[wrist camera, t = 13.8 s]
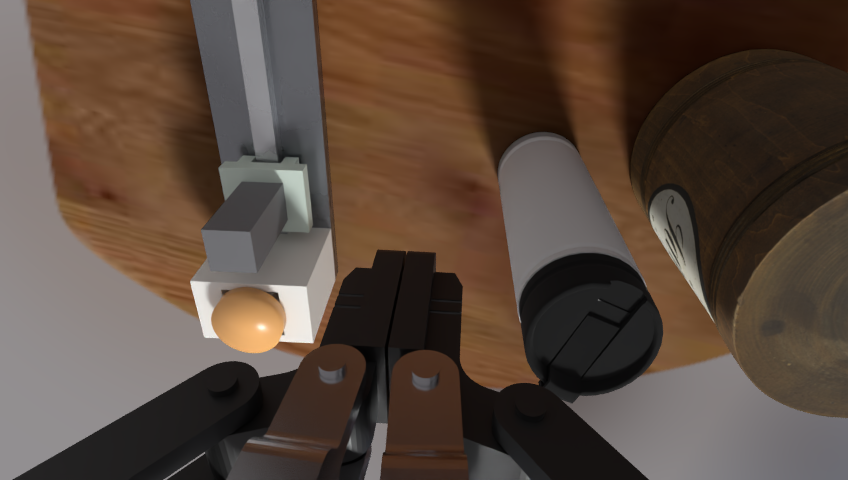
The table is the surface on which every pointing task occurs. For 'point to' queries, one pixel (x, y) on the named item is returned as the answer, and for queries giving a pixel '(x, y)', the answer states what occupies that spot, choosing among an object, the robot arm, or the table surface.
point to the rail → (268, 88)
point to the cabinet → (279, 283)
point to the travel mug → (572, 274)
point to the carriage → (256, 212)
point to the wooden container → (759, 214)
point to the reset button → (249, 319)
